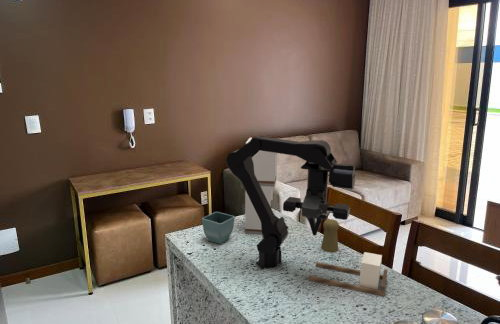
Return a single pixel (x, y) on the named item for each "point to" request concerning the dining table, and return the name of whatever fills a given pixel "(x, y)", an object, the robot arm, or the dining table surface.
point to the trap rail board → (346, 285)
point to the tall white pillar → (267, 179)
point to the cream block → (370, 270)
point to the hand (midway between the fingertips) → (314, 235)
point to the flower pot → (218, 226)
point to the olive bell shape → (330, 236)
